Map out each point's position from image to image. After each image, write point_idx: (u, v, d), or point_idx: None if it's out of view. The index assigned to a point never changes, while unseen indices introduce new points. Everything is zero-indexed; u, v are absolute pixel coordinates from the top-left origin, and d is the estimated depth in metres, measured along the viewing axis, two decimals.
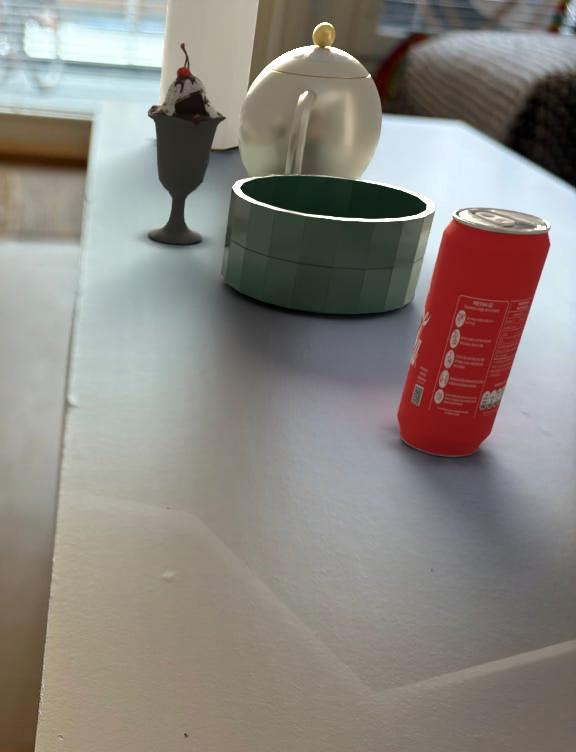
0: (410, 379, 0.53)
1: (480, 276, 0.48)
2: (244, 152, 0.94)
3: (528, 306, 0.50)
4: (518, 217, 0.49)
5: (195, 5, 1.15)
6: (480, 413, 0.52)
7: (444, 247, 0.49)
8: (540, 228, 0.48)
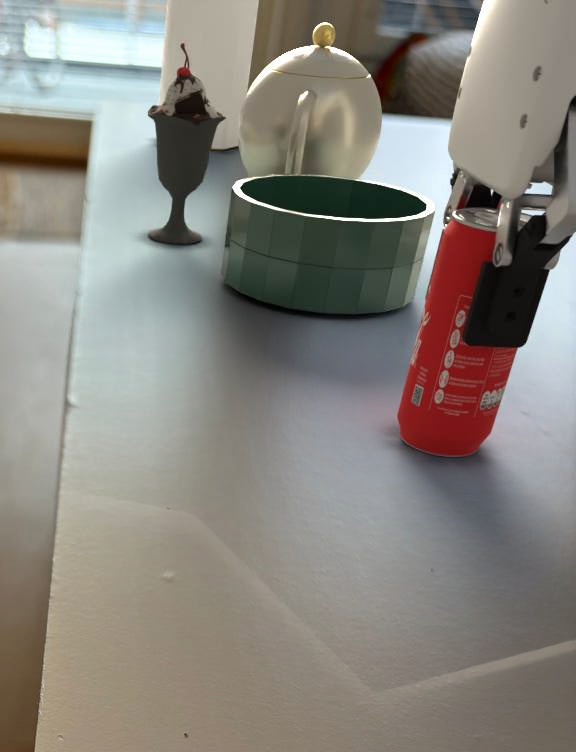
0: (410, 379, 0.53)
1: None
2: (244, 152, 0.94)
3: None
4: None
5: (195, 5, 1.15)
6: (480, 413, 0.52)
7: (444, 247, 0.49)
8: None
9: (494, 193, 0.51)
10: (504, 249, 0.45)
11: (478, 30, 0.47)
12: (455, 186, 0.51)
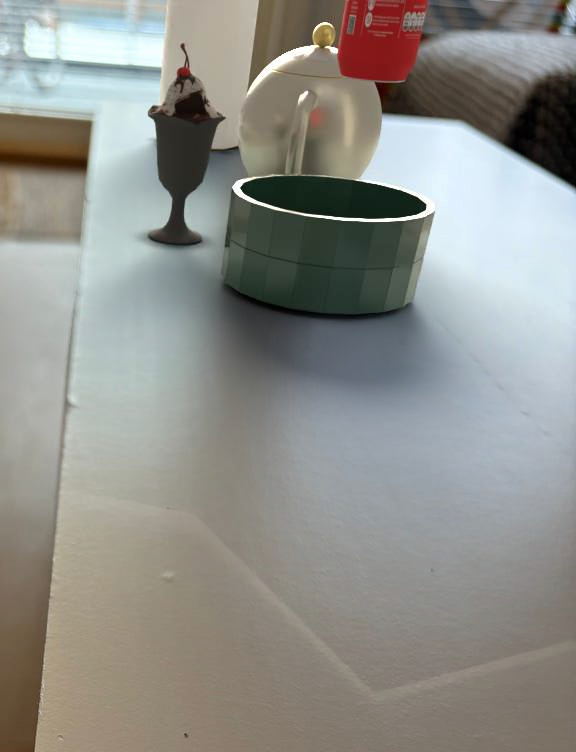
0: (345, 14, 0.64)
1: None
2: (244, 152, 0.94)
3: None
4: None
5: (195, 5, 1.15)
6: (403, 35, 0.63)
7: None
8: None
9: None
10: None
11: None
12: None
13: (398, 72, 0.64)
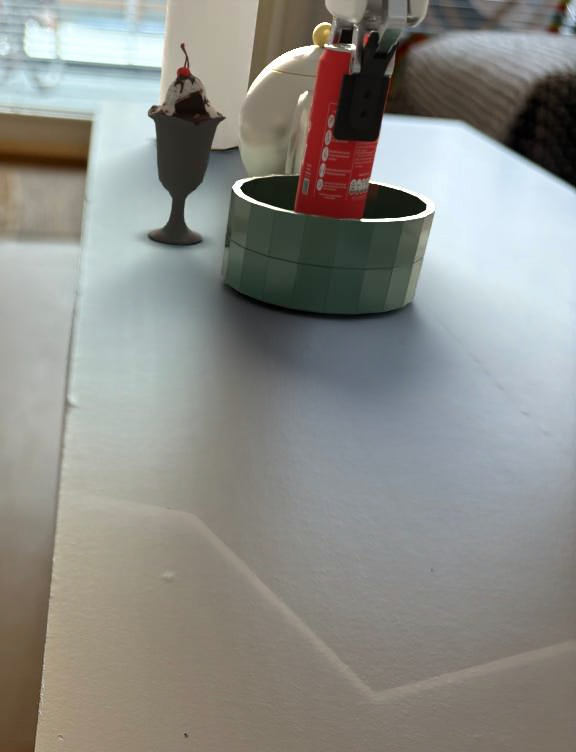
0: (301, 176, 0.73)
1: None
2: (244, 152, 0.94)
3: None
4: None
5: (195, 5, 1.15)
6: (350, 197, 0.72)
7: (319, 69, 0.69)
8: None
9: None
10: (354, 60, 0.65)
11: None
12: (331, 30, 0.71)
13: None
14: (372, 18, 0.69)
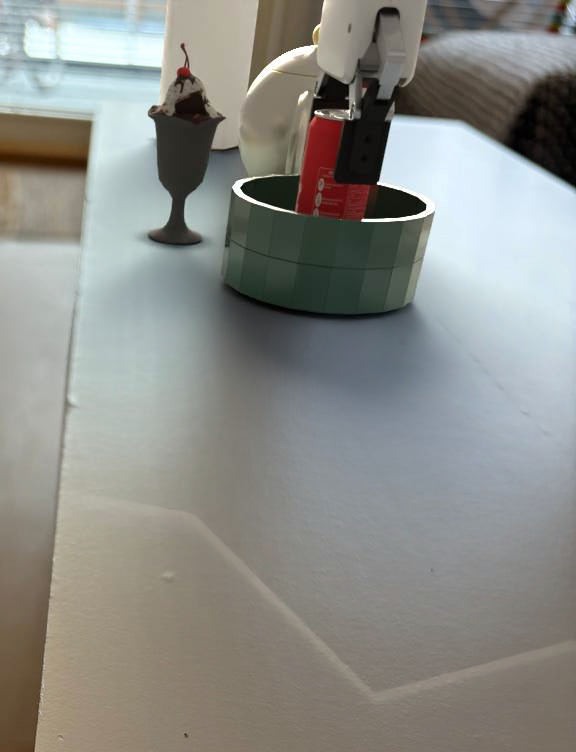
0: None
1: (331, 152, 0.70)
2: (244, 152, 0.94)
3: None
4: None
5: (195, 5, 1.15)
6: None
7: (309, 135, 0.71)
8: None
9: None
10: (354, 103, 0.65)
11: None
12: None
13: None
14: None
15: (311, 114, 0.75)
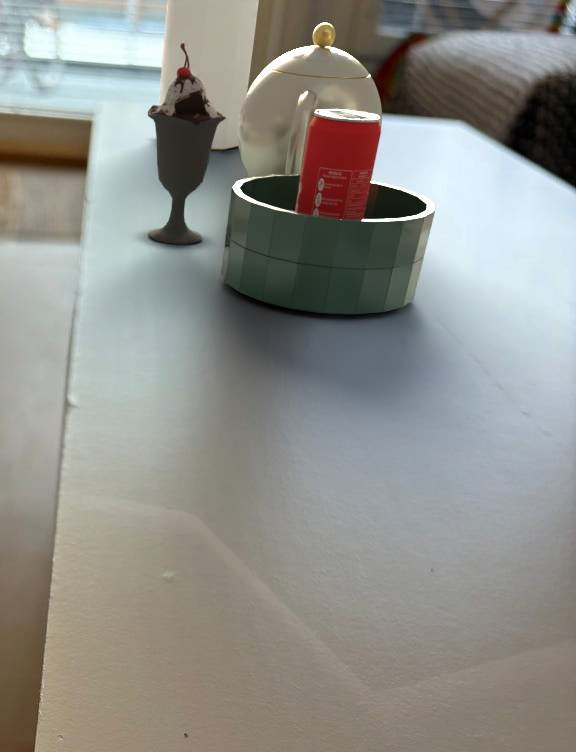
0: None
1: (331, 152, 0.70)
2: (244, 152, 0.94)
3: (368, 176, 0.72)
4: (360, 114, 0.71)
5: (195, 5, 1.15)
6: None
7: (309, 135, 0.71)
8: (371, 119, 0.70)
9: None
10: None
11: None
12: None
13: None
14: None
15: None
